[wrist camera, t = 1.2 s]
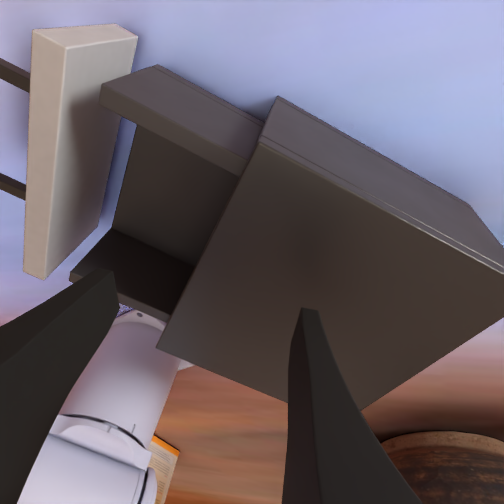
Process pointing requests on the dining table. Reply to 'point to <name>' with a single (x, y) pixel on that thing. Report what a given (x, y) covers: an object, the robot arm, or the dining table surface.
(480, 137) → the dining table surface
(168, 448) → the supplement box
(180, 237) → the drawer
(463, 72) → the dining table surface
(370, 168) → the dark grey box
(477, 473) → the vessel
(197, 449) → the dining table surface
